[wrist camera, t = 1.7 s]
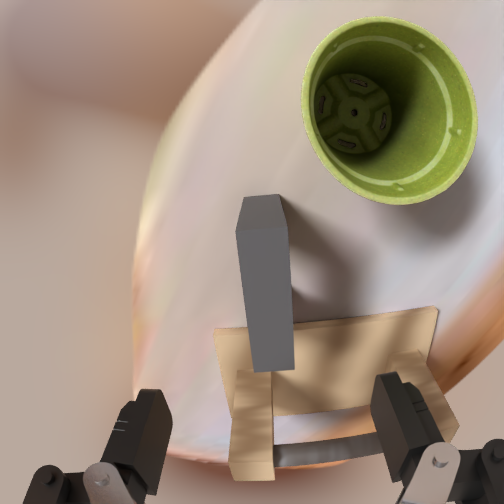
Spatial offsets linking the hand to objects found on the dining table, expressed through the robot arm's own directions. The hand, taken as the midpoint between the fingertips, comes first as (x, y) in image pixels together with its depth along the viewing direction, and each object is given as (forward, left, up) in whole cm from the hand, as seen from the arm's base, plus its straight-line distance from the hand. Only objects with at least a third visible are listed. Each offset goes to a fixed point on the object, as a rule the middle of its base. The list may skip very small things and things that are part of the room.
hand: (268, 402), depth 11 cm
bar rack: (-5, +12, -15) cm, 20 cm away
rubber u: (0, 0, -15) cm, 15 cm away
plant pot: (-7, -10, -15) cm, 19 cm away
